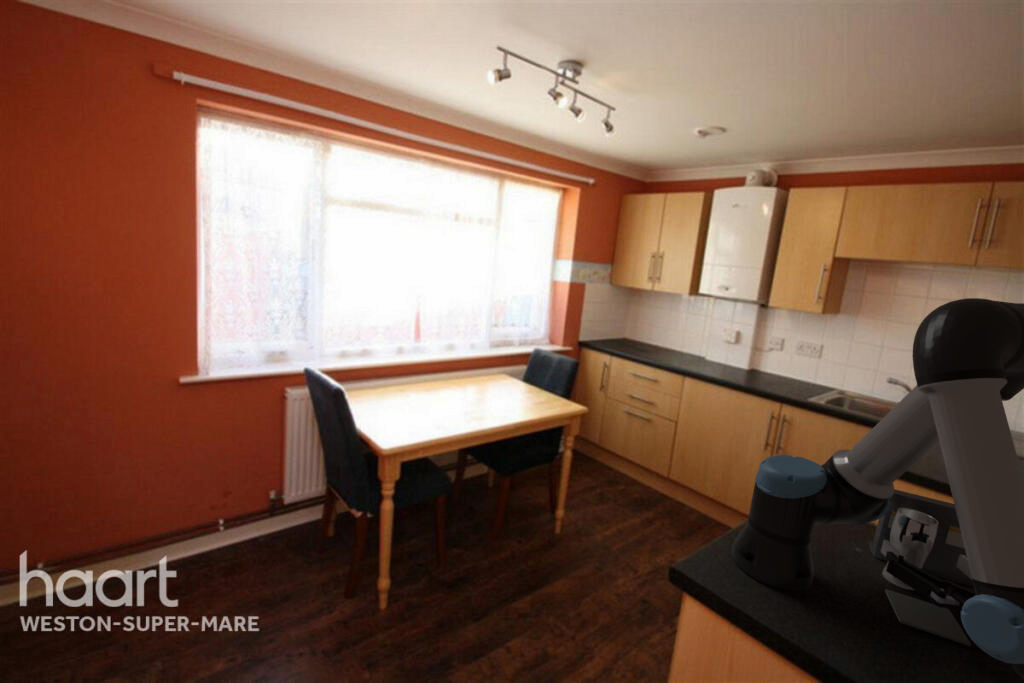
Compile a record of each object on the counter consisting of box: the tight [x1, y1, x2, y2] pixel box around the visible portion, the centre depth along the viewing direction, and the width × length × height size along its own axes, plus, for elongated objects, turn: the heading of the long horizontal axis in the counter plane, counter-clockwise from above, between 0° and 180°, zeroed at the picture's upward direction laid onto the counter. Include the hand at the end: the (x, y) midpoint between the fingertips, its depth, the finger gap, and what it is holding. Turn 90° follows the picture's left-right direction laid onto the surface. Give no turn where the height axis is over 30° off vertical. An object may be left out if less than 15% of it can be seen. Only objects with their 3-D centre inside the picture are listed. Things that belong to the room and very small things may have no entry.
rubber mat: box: [884, 588, 972, 647], centre depth 88 cm, size 10×10×1 cm
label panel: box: [868, 488, 974, 588], centre depth 104 cm, size 19×6×16 cm, turn 64°
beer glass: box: [881, 508, 939, 591], centre depth 98 cm, size 7×7×15 cm
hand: (921, 553), depth 95 cm, fingers open, 13 cm apart
